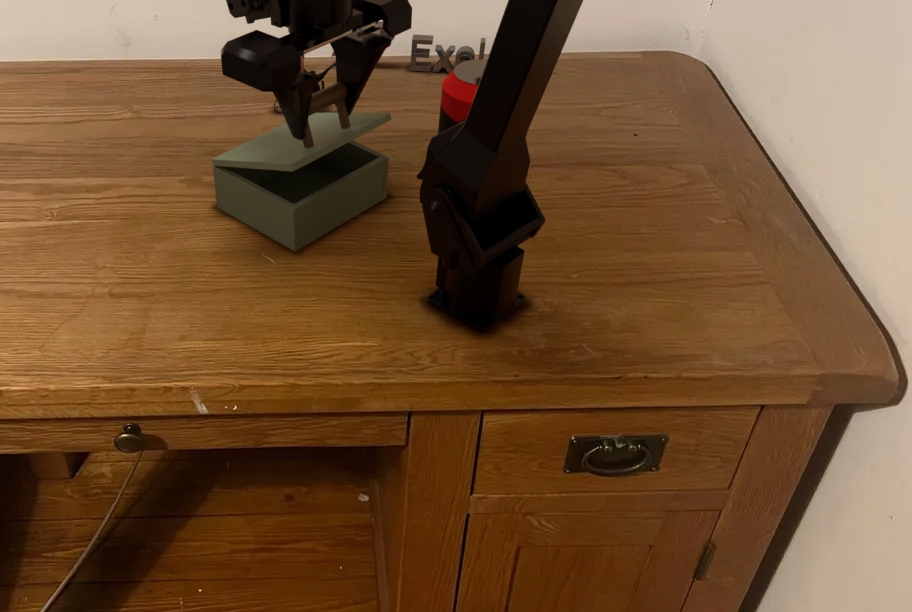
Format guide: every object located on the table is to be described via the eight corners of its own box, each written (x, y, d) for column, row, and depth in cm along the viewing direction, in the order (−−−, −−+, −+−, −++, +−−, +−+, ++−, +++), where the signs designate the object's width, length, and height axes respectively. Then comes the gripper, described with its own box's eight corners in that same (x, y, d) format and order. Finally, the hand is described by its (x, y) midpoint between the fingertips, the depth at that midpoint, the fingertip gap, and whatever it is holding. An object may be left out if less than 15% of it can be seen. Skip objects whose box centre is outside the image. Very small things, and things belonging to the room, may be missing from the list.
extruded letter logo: (331, 66, 117) (331, 21, 113) (332, 61, 118) (333, 16, 114) (529, 77, 114) (536, 32, 110) (529, 72, 115) (536, 27, 111)
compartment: (386, 197, 95) (389, 156, 91) (294, 251, 88) (293, 209, 85) (308, 159, 100) (308, 119, 97) (216, 207, 94) (212, 166, 90)
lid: (391, 119, 88) (381, 68, 86) (293, 171, 82) (278, 117, 79) (308, 119, 97) (297, 72, 94) (213, 165, 90) (198, 116, 88)
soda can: (435, 201, 94) (446, 89, 86) (431, 163, 99) (440, 55, 91) (509, 201, 94) (527, 89, 85) (501, 164, 99) (517, 55, 91)
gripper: (326, -95, 84) (328, 71, 95) (168, -43, 75) (190, 134, 86) (420, -71, 78) (411, 102, 89) (261, -12, 69) (272, 174, 80)
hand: (322, 126), depth 86 cm, fingers closed on lid, 6 cm apart
